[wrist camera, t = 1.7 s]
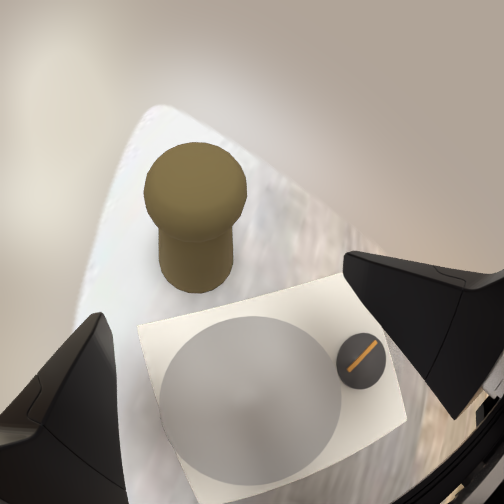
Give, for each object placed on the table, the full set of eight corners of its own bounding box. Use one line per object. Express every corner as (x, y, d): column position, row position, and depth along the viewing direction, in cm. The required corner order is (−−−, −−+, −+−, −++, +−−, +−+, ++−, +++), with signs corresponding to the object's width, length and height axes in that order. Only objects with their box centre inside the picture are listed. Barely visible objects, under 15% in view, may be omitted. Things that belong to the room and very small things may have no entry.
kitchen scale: (378, 414, 19) (413, 421, 15) (200, 484, 15) (201, 513, 11) (336, 281, 23) (365, 262, 19) (148, 332, 19) (133, 323, 15)
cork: (198, 210, 24) (202, 110, 13) (248, 258, 23) (287, 175, 13) (144, 254, 21) (106, 169, 11) (194, 309, 20) (189, 258, 10)
